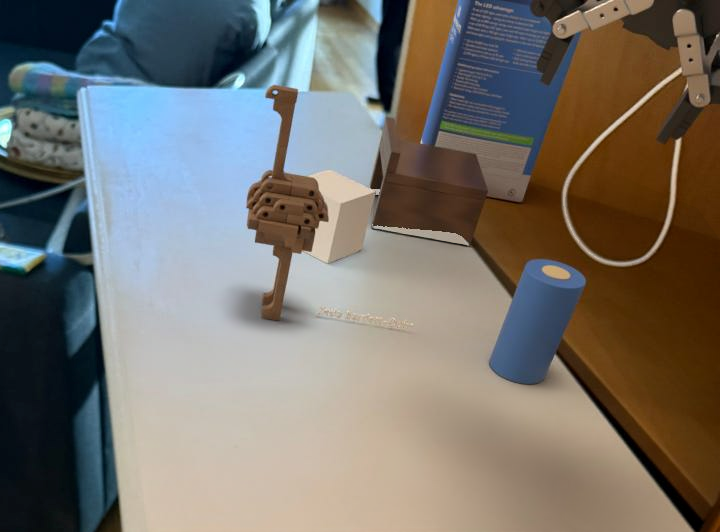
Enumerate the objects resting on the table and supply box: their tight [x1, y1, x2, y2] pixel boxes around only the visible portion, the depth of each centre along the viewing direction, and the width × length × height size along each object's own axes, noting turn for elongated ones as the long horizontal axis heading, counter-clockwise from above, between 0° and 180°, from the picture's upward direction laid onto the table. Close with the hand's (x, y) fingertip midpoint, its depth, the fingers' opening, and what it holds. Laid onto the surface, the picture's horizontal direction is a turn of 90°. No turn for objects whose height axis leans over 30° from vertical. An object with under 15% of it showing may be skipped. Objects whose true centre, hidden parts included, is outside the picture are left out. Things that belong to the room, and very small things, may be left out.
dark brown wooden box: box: [369, 116, 488, 245], centre depth 103 cm, size 11×11×8 cm
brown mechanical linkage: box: [245, 84, 415, 331], centre depth 79 cm, size 17×7×18 cm, turn 88°
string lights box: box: [420, 0, 583, 203], centre depth 106 cm, size 13×8×26 cm, turn 86°
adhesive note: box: [302, 169, 376, 265], centre depth 94 cm, size 6×6×6 cm
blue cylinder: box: [488, 258, 587, 385], centre depth 81 cm, size 5×5×9 cm
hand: (606, 103), depth 62 cm, fingers open, 8 cm apart
